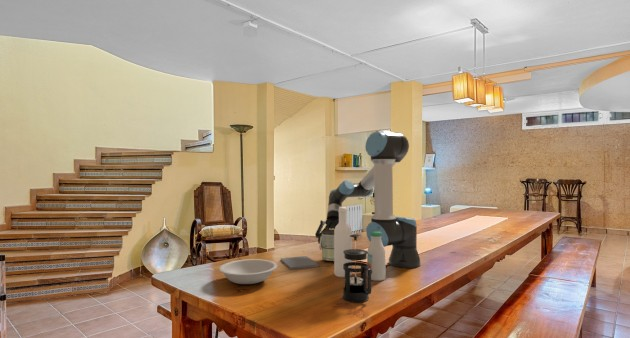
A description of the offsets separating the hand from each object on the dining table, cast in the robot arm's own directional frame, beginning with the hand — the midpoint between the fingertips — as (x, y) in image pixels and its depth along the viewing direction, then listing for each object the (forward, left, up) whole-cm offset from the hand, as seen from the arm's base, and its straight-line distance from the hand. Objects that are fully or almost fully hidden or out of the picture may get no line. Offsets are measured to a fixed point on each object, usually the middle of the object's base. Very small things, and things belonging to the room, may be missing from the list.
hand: (330, 248), depth 179 cm
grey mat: (+4, +15, -7) cm, 17 cm away
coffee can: (+3, -2, -6) cm, 6 cm away
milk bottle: (-32, -8, -7) cm, 33 cm away
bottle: (-22, +3, -7) cm, 23 cm away
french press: (-50, +11, -7) cm, 51 cm away
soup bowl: (-16, +44, -7) cm, 48 cm away
